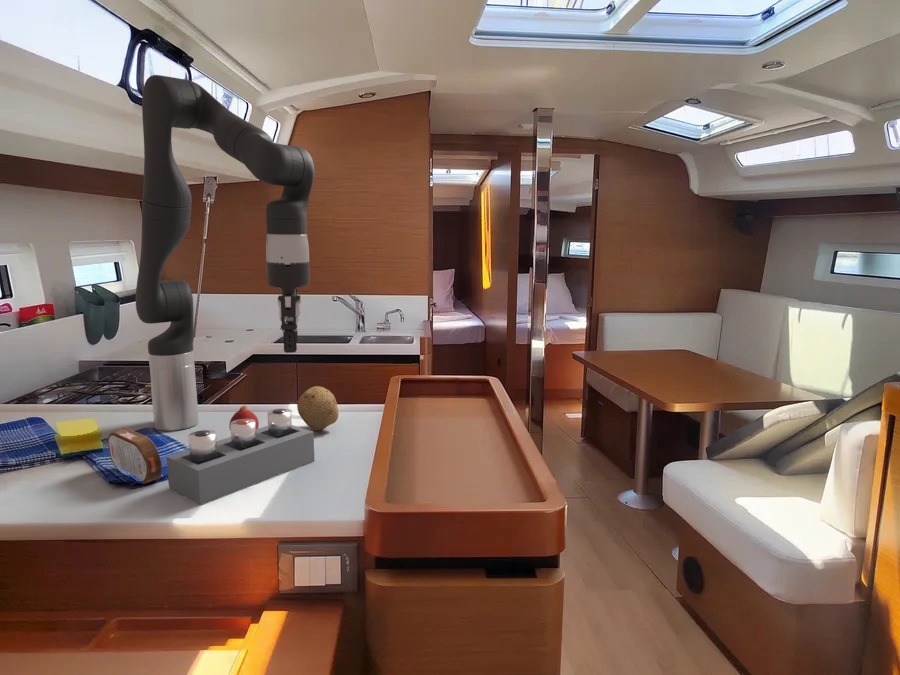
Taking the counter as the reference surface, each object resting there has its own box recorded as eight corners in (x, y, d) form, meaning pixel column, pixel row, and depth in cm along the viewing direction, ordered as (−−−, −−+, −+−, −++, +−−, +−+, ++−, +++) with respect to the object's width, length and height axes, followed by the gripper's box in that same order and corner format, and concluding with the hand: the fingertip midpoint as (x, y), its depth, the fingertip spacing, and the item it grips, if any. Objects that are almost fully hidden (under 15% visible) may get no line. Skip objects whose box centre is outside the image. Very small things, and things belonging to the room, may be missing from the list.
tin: (165, 484, 107) (161, 439, 105) (147, 490, 104) (143, 444, 103) (124, 464, 116) (120, 422, 114) (107, 469, 113) (103, 427, 112)
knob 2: (263, 432, 116) (262, 411, 115) (282, 426, 119) (281, 405, 119) (277, 437, 113) (276, 415, 113) (296, 431, 117) (295, 409, 116)
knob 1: (184, 457, 103) (183, 433, 103) (208, 449, 107) (206, 426, 106) (198, 463, 101) (197, 438, 100) (222, 455, 104) (221, 431, 103)
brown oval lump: (297, 424, 139) (295, 382, 137) (336, 421, 142) (335, 380, 140) (299, 437, 131) (297, 393, 129) (340, 433, 133) (339, 390, 131)
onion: (250, 447, 125) (248, 410, 123) (225, 445, 126) (222, 408, 124) (264, 438, 130) (262, 402, 129) (240, 436, 131) (237, 401, 130)
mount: (169, 489, 105) (166, 456, 104) (282, 449, 124) (281, 421, 122) (200, 505, 99) (198, 470, 98) (314, 460, 118) (313, 431, 117)
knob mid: (226, 444, 110) (225, 421, 109) (247, 437, 113) (246, 415, 112) (240, 449, 107) (239, 426, 106) (261, 442, 110) (260, 420, 110)
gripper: (269, 257, 115) (272, 340, 118) (263, 262, 101) (267, 356, 104) (309, 257, 116) (311, 339, 119) (309, 262, 103) (311, 355, 106)
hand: (291, 347), depth 112 cm, fingers open, 8 cm apart
